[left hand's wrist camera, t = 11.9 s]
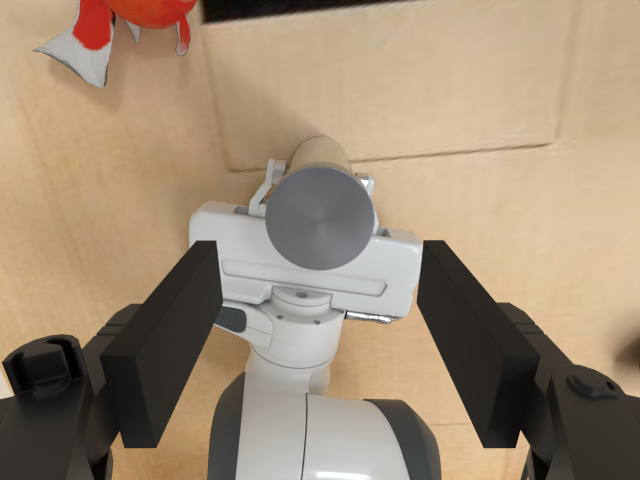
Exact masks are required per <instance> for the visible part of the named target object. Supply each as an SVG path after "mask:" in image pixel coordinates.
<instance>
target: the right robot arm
mask: <svg viewBox="0 0 640 480" xmlns="http://www.w3.org/2000/svg"><path fill="white" fill-rule="evenodd" d="M286 169H287V161H283V160H278V159H272V158H270V159H269V160H268V164H267V172H266V180H265V181H264V182H263V184H262V185H261V186H260V188H259V189H258V190H257V192H256V193H255V194H254V196H253V197H252V199H251V200H250V202H249V206H245V205H238V204H232V203H225V202H219V201H212V200H210V201H207V202H205V203H204V204H203V205H201V206H200V207H199V208H198V209H197V210H196V211H195V212H194V213H193V214H192V216H191V218H190V221H189V249H190V247H191V246H192V245H193V244H194V243H195V241H196V240H216V241H217V250H218V259H219V268H220V277H221V286H222V294H223V305H222V307H221V309H220V311H219V313H218V316H217V318H216V320H215V322H214V324H213V325H214V326H217V327H219V328H221V329H224V330H226V331H228V332H231V333H233V334H235V335H237V336H239V337H241V338H243V339H245V340H247V341H249V345H250V350H251V354H250V356H249V358H248V361H247V363H246V366H245V371H244V372H243V373H241V374H240V375H239V376H238V377H237V378H236V379H234V381H233V382H232V383H231V384H230V385H229V386H228V387H227V388H226V389H225V390H224V391H223V393H222V395H221V397H220V399H219V401H218V403H217V406H216V409H215V413H214V417H213V421H212V427H211V434H210V443H209V458H208V476H207V480H441V464H440V455H439V449H438V445H437V441H436V439H435V436H434V435H433V433H432V432H431V430H430V429H429V427H428V426H427V425H426V423H425V422H424V421H423V420H422V419H421V417H420V416H419V415H418V414H417V413H416V412H415V411H414V410H413V409H412V408H411V407H410V406H409V405H407V404H406V403H405V402H404V401H402V400H388V399H363V400H356V399H347V398H338V397H329V396H327V394H328V390H329V385H330V378H331V374H330V364H331V362H332V360H333V359H334V357H335V355H336V352H337V349H338V344H339V340H340V335H341V331H342V326H343V321H344V320H345V319H350V320H357V321H373V322H376V323H380V324H390V323H391V321H396V320H399V319H401V318H403V317H405V316H406V315H407V314H408V312H409V310H410V307H411V303H412V300H413V291H414V289H415V287H416V285H417V282H418V280H419V277H420V268H421V259H422V250H423V243H422V241H421V240H420V239H419V237H418V236H417V235H416V234H415V233H414V232H412V231H406V230H400V229H393V228H387V227H380V226H378V225H379V220H378V217H377V214H376V211H375V208H374V213H375V224H374V230H373V233H372V236H371V239H370V241H369V243H368V244H367V246H366V247H365V249H364V250H363V251H362V252H361V254H360V255H358V256H357V257H356V258H355V259H354V260H352V261H351V262H349V263H347V264H345V265H344V266H341V267H338V268H335V269H331V270H319V271H317V270H309V269H305V268H302V267H299V266H297V265H295V264H292V263H291V262H289V261H288V260H286V259H285V258H284V257H283V256H281V255H280V253H279V252H278V251H277V250H276V249H275V247H274V246H273V245H272V243H271V241H270V239H269V236H268V234H267V230H266V224H265V212H266V207H267V203H268V201H269V198H266V197H264V196H265V195H266V193H267V192H268V191H269V190H270V188H271V187H272V186H273V184H274V185H277V183H278V182H279V180H280V179H281V178H282V177H283V176H284V175H285V174H286V172H285V171H286ZM355 175H356V176H357V177H358V178H359V179H360V180H361V182H362V183H363V184H364V186H365V188H366V190H367V192H368V194H369V196H370V198H371V195H372V190H373V186H374V176H373V175H370V174H364V173H357V172H356V173H355ZM263 197H264V198H263ZM371 201H372V200H371ZM372 203H373V202H372ZM373 207H374V205H373ZM392 316H393V317H392Z"/></svg>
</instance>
